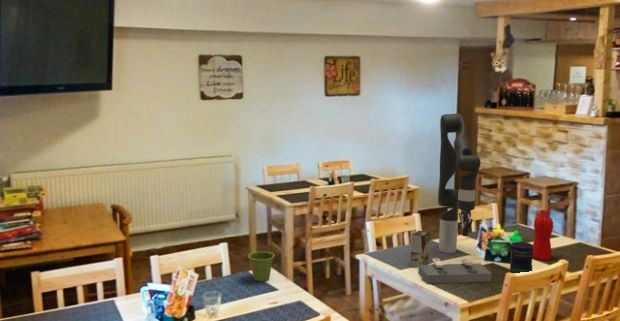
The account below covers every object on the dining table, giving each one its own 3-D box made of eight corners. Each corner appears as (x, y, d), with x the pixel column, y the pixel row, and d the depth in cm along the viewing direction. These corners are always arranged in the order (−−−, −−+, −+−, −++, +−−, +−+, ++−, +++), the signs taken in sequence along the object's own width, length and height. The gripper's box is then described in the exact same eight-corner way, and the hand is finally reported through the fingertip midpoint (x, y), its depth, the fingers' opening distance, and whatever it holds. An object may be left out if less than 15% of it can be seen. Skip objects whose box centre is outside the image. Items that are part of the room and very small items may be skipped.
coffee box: (422, 268, 293) (423, 236, 291) (410, 266, 297) (411, 234, 294) (429, 263, 301) (430, 231, 299) (416, 261, 304) (418, 230, 302)
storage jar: (523, 280, 278) (525, 249, 275) (505, 274, 286) (507, 244, 283) (536, 276, 284) (538, 245, 281) (518, 270, 291) (519, 240, 289)
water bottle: (532, 260, 306) (535, 212, 303) (531, 254, 317) (534, 207, 313) (551, 262, 304) (555, 213, 300) (550, 255, 314) (553, 208, 310)
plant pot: (243, 279, 277) (242, 255, 276) (263, 273, 286) (262, 249, 284) (259, 285, 269) (259, 261, 267) (279, 279, 277) (279, 255, 275)
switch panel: (418, 273, 287) (418, 264, 286) (479, 271, 290) (480, 262, 289) (427, 283, 273) (427, 274, 272) (491, 281, 276) (492, 272, 275)
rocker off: (432, 260, 287) (432, 258, 286) (438, 260, 287) (438, 258, 286) (436, 267, 280) (436, 265, 279) (443, 267, 280) (443, 264, 280)
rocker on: (461, 262, 288) (461, 259, 288) (467, 261, 288) (467, 259, 288) (466, 265, 281) (466, 262, 281) (472, 264, 281) (472, 262, 281)
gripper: (454, 195, 283) (452, 231, 286) (463, 202, 270) (461, 239, 273) (469, 195, 284) (468, 231, 286) (479, 201, 271) (477, 239, 273)
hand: (464, 235), depth 279 cm, fingers closed
